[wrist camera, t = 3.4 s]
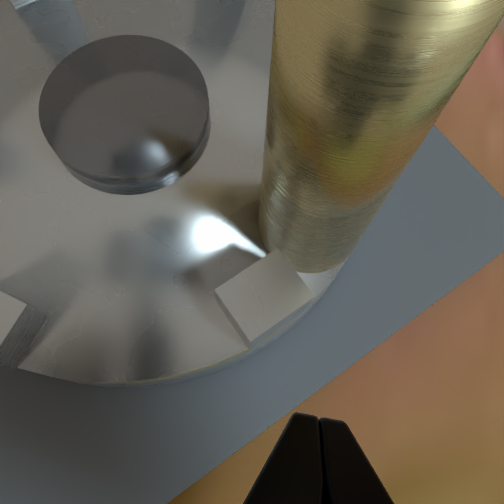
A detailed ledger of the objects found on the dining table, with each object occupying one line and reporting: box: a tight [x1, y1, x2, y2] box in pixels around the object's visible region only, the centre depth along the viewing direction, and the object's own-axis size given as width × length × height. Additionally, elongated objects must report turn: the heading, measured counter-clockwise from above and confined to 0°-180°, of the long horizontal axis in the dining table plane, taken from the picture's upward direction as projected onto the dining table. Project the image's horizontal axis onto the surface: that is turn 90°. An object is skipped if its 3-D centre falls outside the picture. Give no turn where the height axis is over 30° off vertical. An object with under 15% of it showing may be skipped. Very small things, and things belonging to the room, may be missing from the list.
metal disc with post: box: [0, 0, 504, 388], centre depth 12 cm, size 16×16×12 cm
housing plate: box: [0, 125, 504, 504], centre depth 18 cm, size 20×20×2 cm
